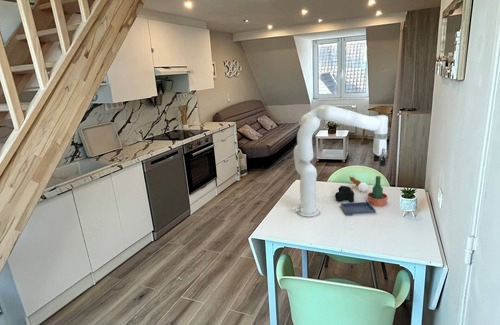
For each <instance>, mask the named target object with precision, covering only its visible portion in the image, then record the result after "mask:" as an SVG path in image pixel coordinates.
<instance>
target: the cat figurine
mask: <svg viewBox="0 0 500 325" xmlns="http://www.w3.org/2000/svg"><path fill="white" fill-rule="evenodd" d="M348 177H349V180H350V182H352V183H353V184H354V186H352V187H350V189H351V191H353V189H355V188H358V191H360V192H363V193H365V192H367V191H368V190H369V186H368V183H366V182H361V180H359V179H356V174H353V176H350V175H349V176H348Z"/></svg>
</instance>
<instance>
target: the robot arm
mask: <svg viewBox="0 0 500 325" xmlns="http://www.w3.org/2000/svg"><path fill="white" fill-rule="evenodd" d="M323 120H325V121H329V122H333V123H337V124H341V125H345V126H348V127H354V128H359V129H364V130H367V131H371V132H373V143H372V153H373V162H379V166H380V167H385V166H386V164H387V156H388V153H387V149H388V145H387V140H388V133H389V132H388V131H389V130H388V129H389V117H388V115H384V114H379V115H366V114H363V113H359V112H356V111H353V110H349V109H345V108H342V107H338V106H333V105H330V104H321V105H319V106H317V107H315V108H313V109H311V110H310V111H308V112H306V113H305V114H303V115H302V116H301V117H300V120H299V121H300V122H299V123H300V127H299V129H298V130H297V134H296V145H295V146H294V148H293V160H294V167H295V171H296V172H297V174H299V176H300V181H299V194H300V196H299V198H300V199H299V200H300V202H299V203H300V204H299V205H297V206H292V210H293V211H295V212H297V213H298V215H300V216H302V217H306V218H309V217H316V216H318V215H319V213H320V210H319V208H317V179H318V178H317V177H318V170H317V168H316V166H314V165H313V163H311V161H313V159H314V149H313V148H314V147H313V135H314V133H315V132H316V131H317V130H318V129H319V127H320V125H321V121H323Z"/></svg>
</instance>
